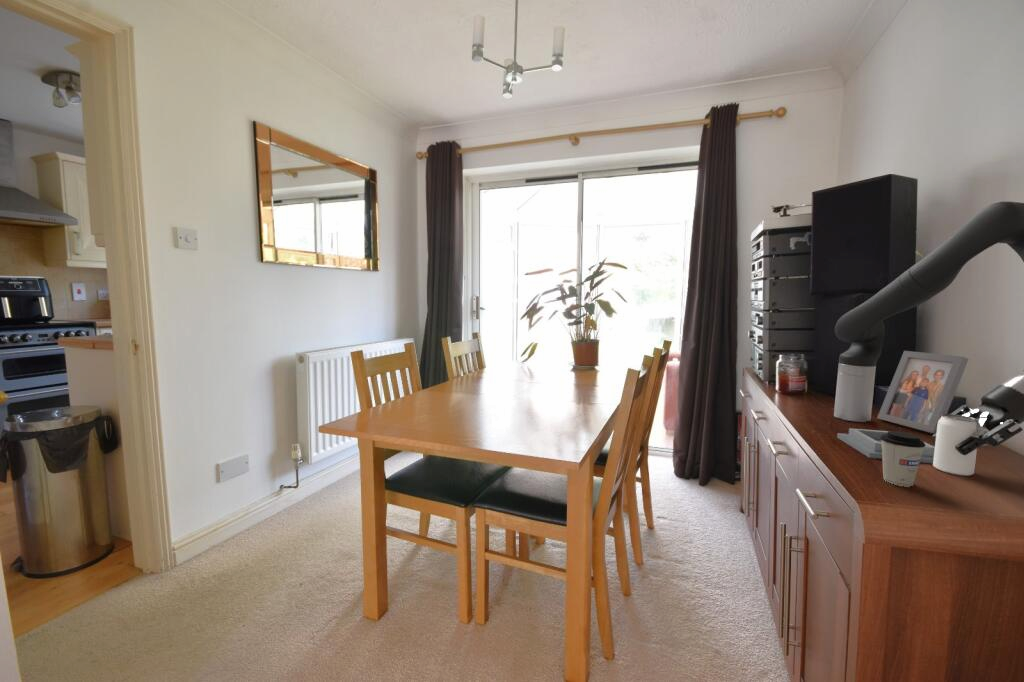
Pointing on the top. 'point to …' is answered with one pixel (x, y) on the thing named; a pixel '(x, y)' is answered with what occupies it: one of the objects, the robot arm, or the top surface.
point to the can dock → (877, 443)
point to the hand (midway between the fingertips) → (947, 445)
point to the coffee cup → (901, 457)
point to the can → (954, 445)
